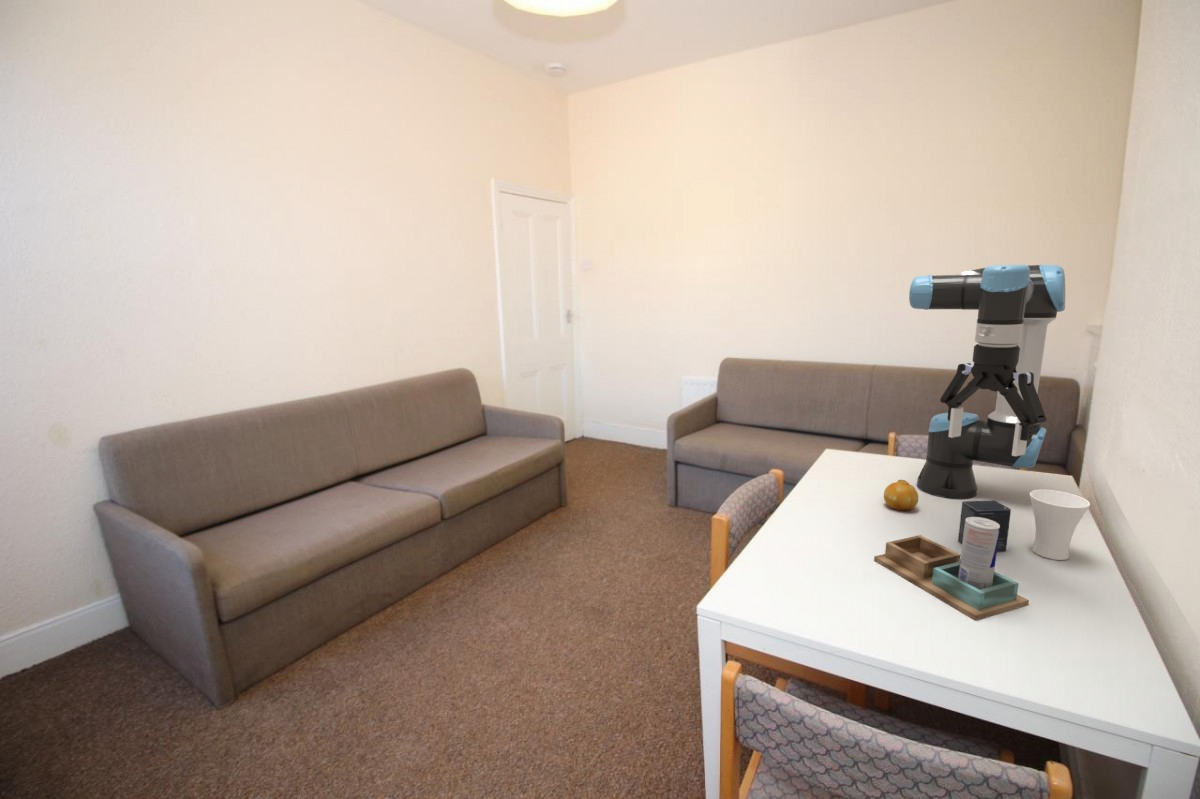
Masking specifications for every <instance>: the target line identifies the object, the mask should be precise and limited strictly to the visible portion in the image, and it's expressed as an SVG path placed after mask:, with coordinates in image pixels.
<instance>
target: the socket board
mask: <svg viewBox="0 0 1200 799" xmlns="http://www.w3.org/2000/svg"><path fill="white" fill-rule="evenodd" d="M884 550H885V552H884V553H883V554H879V555H875V556H874V557H873V561H874V562H876V563H877V564H880V566H882V567H884V568H886V569H888V570H889V571H891V572H893V573H894V574H896V575H898V576H899V577H901V578H903V579H904V580H906V581H908V582H909V583H911V584H913V585H915V586H917V587H918V588H920V589H921V590H924V591H925V592H927V593H928V594H930V595H932V596H933V597H935V598H937V599H939V600H940V601H942V602H943V603H945V604H947V605H948V606H950V607H952V608H954V609H955V610H957V611H959V612H960V613H962V614H964V615H965V616H967V617H969V618H970V619H972V620H974V621H978V620H982V619H985V618H988V617H992V616H995V615H998V614H1002V613H1005V612H1009V611H1012V610H1015V609H1018V608H1023V607H1025V606H1028V605H1029V602H1030V599H1028V598H1025V597H1024V596H1021V595H1020V594H1018V590H1019V582H1017V581H1015V580H1014V579H1011V578H1009V577H1007V576H1005V575H1002V574H1001V573H999V572H997V571H995V570H994V576H993V583H992V587H988V588H985V589H981V590H979V589H977V588H975V587H973V586H971V585H970V584H968V583H966V582H964V581H962V580H960V579H958V575H959V567H960V559H961V553H960V554H959V553H958V552H956V551H954V550H952V549H950V548H948V547H946V546H944V545H943V544H939V543H937V542H935V541H933V540H931V539H930V538H927V537H925V536H923V535H922V534H919V535H914V536H910V537H906V538H900V539H896V540H892V541H888V542H886V543H885V549H884Z"/></svg>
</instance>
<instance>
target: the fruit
mask: <svg viewBox="0 0 1200 799" xmlns="http://www.w3.org/2000/svg"><path fill="white" fill-rule="evenodd" d="M883 500H884V502H885V503H886V504H887V506H888V507H890V508H891V509H894V510H897V511H904V512H905V511H910V510H912V509H914V508H915V507H916V506H917V504H918V502H919V493H918V491H917V490H916V488H915V486H913V485H912V484H910V483H909V482H908V481H906V480H904V479H898V480H897V481H896V482H892V483H890V484H889V485H887V486H886V487H885V489H884V492H883Z"/></svg>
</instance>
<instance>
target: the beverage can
mask: <svg viewBox="0 0 1200 799" xmlns="http://www.w3.org/2000/svg"><path fill="white" fill-rule="evenodd" d="M965 521H966V522H965V526H964V534H963V543H962V544H961V553H960V555H961V556H960V567H959V575H958V579H960V580H962V581H964V582H966V583H968V584H970V585H971V586H973V587H975V588H977V589H979V590H981V589H985V588H988V587H992V583H993V576H994V571H995V567H996V562H997V561H996V560H997V554H998V553H997V552H998V551H997V547H998V540H999V532H1000V529H999V528H1000V525H999V524H998V523H996V522H995V521H992V520H989V519H986V518H981V517H968V518H966V520H965Z"/></svg>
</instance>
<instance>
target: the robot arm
mask: <svg viewBox="0 0 1200 799" xmlns="http://www.w3.org/2000/svg"><path fill="white" fill-rule="evenodd" d="M1065 274H1066V273H1065V270H1064V268H1063V267H1062V266H1060V265H1057V264H1054V265H1053V264H1034V265H1030V264H1029V265H1026V264H1003V265H1001V264H999V265H989V266H986V267H982V268H981V267H980V268H974V269H972V270H966V271H961V272H959V273H956V274H950V275H949V274H945V275H944V274H941V275H931V274H929V275H928V274H927V275H920V276H916V277H914V278H913V279H912V281H911V284H910V288H909V294H908V295H909V297H908V300H909V305H910V307H911V308H913V309H915V310H916V309H917V310H925V311H926V310H927V311H928V310H962V311H963V310H964V311H965V310H969V311H970V310H976V311H978V312H977V319H976V329H975V338H974V341H975V343H977V344H975V345H974V346H973V352H972V362H973V365H972V364H971V362H965V363H960V364H957V368H956V373H955V375H954V376H953V378H952V379H951V382H949V384H948V386H947V387H946V390H945V391H944V393H942V396H941V397H940V399H939V402H940V403H943V404H945V405H946V406H947V407H948V410H947V412H945V413H944V412H943V413H938V414H935V415H934V416H933V417H932V418H931V419H930V423H929V428H928V436H927V437H928V438H927V439H928V440H927V449H926V458H925V462H924V464H923V467H922V468H921V471H920V473H919V475H918V477H917V479H916V480H917V481H916V487H917V488H918V489H919V490H921V491H923V492H924V493H927V494H930V495H934V496H937V497H942V498H947V499H948V498H949V499H955V500H956V499H957V500H958V499H959V500H963V499H965V500H966V499H971V498H974V497H976V496H977V493H978V492H977V491H978V484H977V483H976V478H975V473H974V470H973V464H974V463H973V462H982V463H985V464H986V463H987V464H994V465H1000V466H1006V467H1010V468H1012V469H1013V468H1018V469H1025V470H1026V469H1031V468H1033V467H1035V465H1036V463H1037V460H1038V458H1039V455H1040V451H1041V448H1042V446H1043V444H1044V443H1043V442H1044V439H1045V437H1046V433H1047V429H1046V428H1045V427H1043V426H1041V424H1043V423H1046V422H1047V417H1046V414H1045V411H1044V408H1043V406H1042V403H1041V400H1040V398H1039V395H1038V394H1039V393H1038V392H1039V385H1040V378H1041V372H1042V365H1043V358H1044V352H1045V345H1046V344H1045V343H1046V337H1047V331H1048V325H1049V324H1050V323H1052V322H1053V321H1055V320H1056V319H1057V314H1058V312H1059V313H1060V312H1063V311H1065V309H1066V278H1065V277H1066V275H1065ZM970 375H972V377H973V378H972V379H970V381H969V382H968V383H967V385H966V386H964V385H965V382H966V381H967V380H968V378H969V376H970ZM963 386H964V387H963ZM962 387H963V388H962ZM979 389H981V390H990V391H991V392H995V393H996V392H997V395H996V404H995V410H994V411H992V412H991V413H990V414H988V415H987V420H980V417H979V415H978V414H976V413H972V412H967V411H964V408H965V407H963V405H962V404H964V402H966V401H967V400H968V399H969V398H970V397H971V396H972V395H974V393H976V392H977V391H978V390H979Z"/></svg>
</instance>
